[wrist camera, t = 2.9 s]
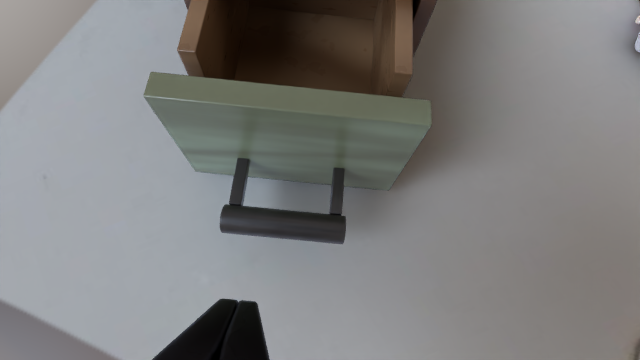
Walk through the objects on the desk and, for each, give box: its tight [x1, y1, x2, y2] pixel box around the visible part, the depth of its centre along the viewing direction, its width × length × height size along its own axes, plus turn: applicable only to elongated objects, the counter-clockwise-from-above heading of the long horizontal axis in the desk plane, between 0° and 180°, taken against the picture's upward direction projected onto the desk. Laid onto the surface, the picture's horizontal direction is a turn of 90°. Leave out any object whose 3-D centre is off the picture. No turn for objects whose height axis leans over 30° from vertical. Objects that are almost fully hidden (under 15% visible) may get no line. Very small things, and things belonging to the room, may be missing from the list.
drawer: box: [144, 0, 432, 244], centre depth 20 cm, size 16×11×8 cm
